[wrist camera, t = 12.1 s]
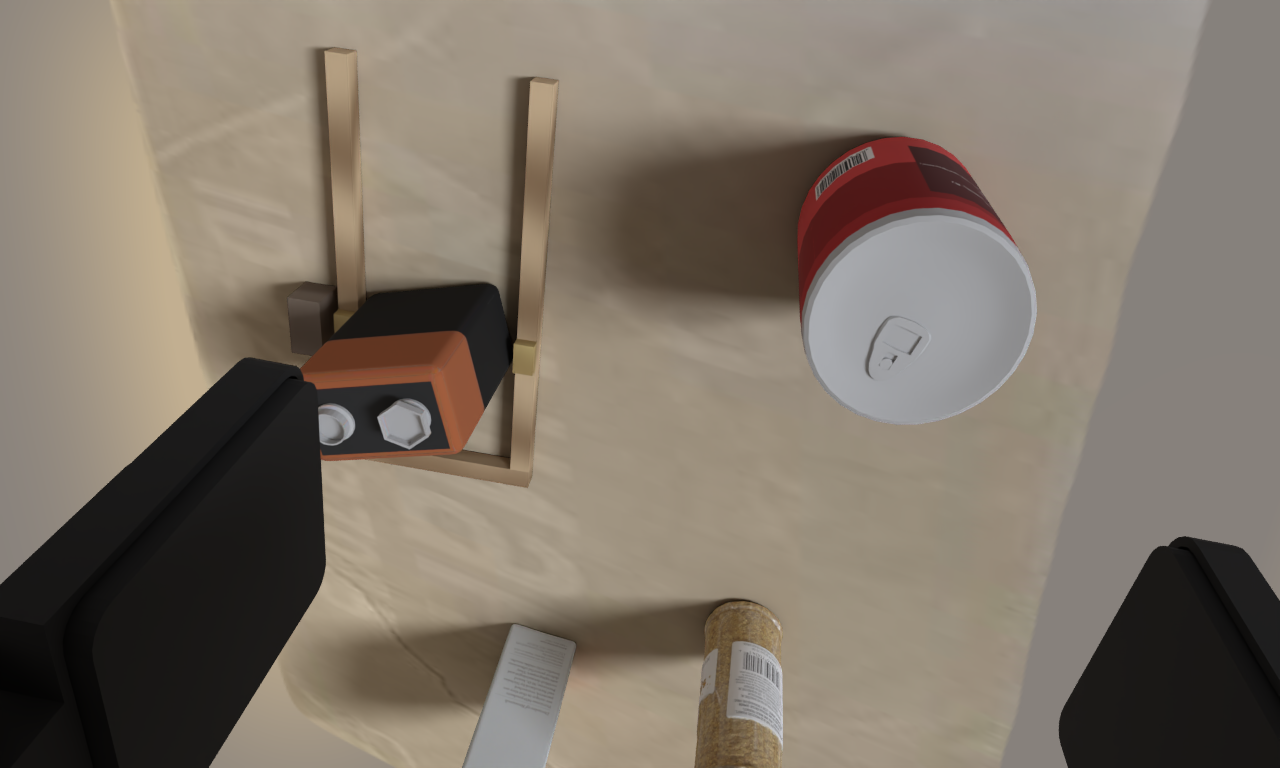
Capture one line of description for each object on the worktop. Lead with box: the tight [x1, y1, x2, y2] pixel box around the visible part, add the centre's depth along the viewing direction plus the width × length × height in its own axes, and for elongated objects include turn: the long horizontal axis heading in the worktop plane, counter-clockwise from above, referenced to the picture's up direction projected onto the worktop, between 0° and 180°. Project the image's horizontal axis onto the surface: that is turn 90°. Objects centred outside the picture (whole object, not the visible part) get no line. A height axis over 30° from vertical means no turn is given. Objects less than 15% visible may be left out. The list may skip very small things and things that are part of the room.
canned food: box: [797, 137, 1037, 425], centre depth 36 cm, size 8×8×11 cm
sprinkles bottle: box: [695, 601, 783, 768], centre depth 47 cm, size 5×5×13 cm
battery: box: [300, 284, 513, 461], centre depth 42 cm, size 4×7×10 cm, turn 98°
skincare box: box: [462, 624, 576, 768], centre depth 51 cm, size 6×4×12 cm
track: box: [287, 47, 559, 488], centre depth 44 cm, size 21×12×2 cm, turn 173°
